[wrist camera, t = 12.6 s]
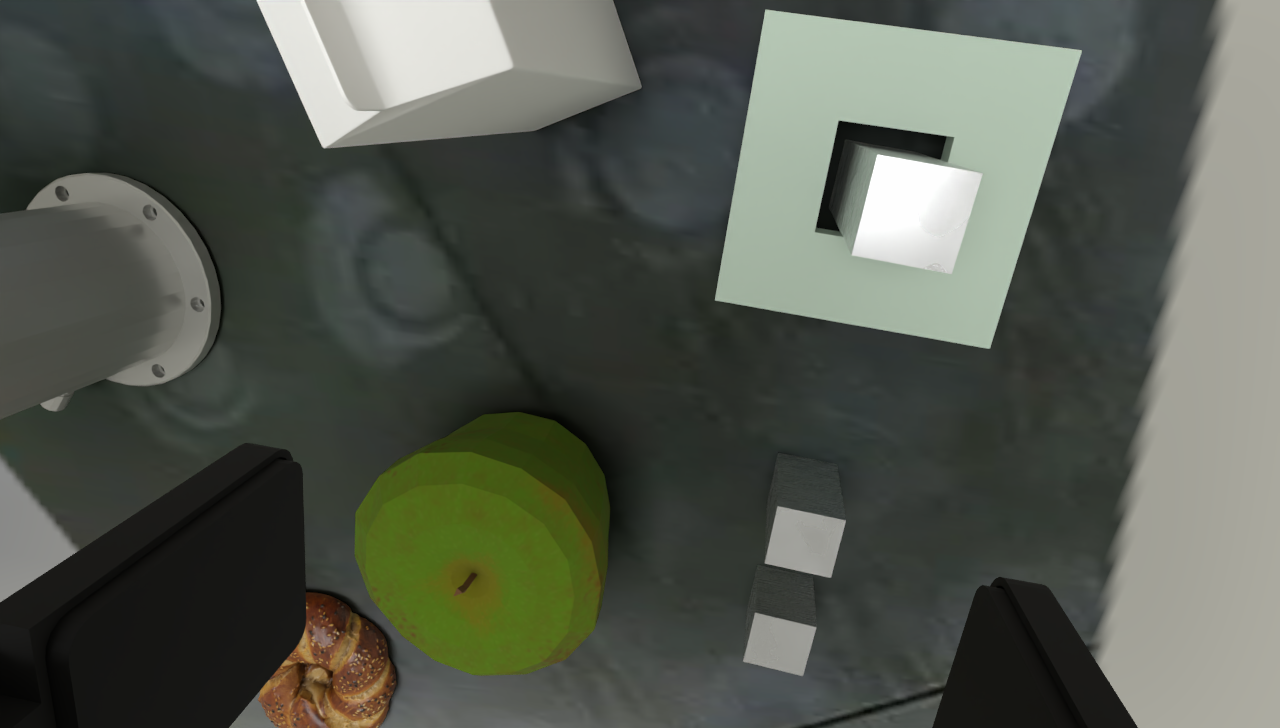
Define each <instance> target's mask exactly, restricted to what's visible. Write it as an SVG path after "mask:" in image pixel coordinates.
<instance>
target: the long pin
mask: <svg viewBox="0 0 1280 728" xmlns="http://www.w3.org/2000/svg"><path fill="white" fill-rule="evenodd" d="M982 175H983V173H981V172H978V171H974V170H971V169H968V168H965V167H962V166H959V165H955V164H952V163H949V162H946V161H943V160H940V159H936V158H933V157H930V156H927V155H924V154H921V153H917V152H914V151H909V150H903V149H897V148H892V147H886V146H880V145H874V144H869V143H863V142H857V141H851V140H846V139H845V142H844V146H843V150H842V154H841V158H840V162H839V166H838V171H837V175H836V179H835V183H834V187H833V191H832V195H831V199H830V203H829V209H830V211H831V213H832V215H833V217H834V220H835V222H836V224H837V226H838V228H839V230H840V232H841V234H842V236H843V238H844V240H845V242H846V245H847V247H848V249H849V251H850V253H851V255H854V256H859V257H864V258H869V259H875V260H880V261H885V262H890V263H895V264H901V265H906V266H911V267H916V268H922V269H927V270H932V271H937V272H943V273H948V274H952V272H953V268H954V265H955V262H956V259H957V255H958V252H959V249H960V246H961V243H962V239H963V236H964V233H965V230H966V226H967V223H968V220H969V217H970V213H971V210H972V207H973V204H974V201H975V197H976V194H977V191H978V188H979V184H980V181H981V178H982Z"/></svg>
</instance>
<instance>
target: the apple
mask: <svg viewBox="0 0 1280 728" xmlns="http://www.w3.org/2000/svg"><path fill="white" fill-rule="evenodd" d="M609 520H610V503H609V498H608V492H607V487H606V481H605V476H604V474H603V472H602V470H601V469H600V467H599V465H598V464H597V462H596V460H595V459H594V457H593V455H592V454H591V452H590V450H589V449H588V447H587V445H586V444H585V443H584V442H582V441H581V440H580V439H579V438H577V437H576V436H575V435H573V434H572V433H571V432H569V431H568V430H567V429H565V428H564V427H563V426H561V425H560V424H559V423H557V422H556V421H554V420H550V419H546V418H542V417H538V416H533V415H529V414H525V413H521V412H511V413H497V414H484V415H482V416H480V417H478V418H477V419H475V420H473V421H471V422H470V423H468V424H466V425H465V426H463V427H461V428H459V429H458V430H456V431H454V432H453V433H451V434H450V435H448V436H446V437H445V438H442V439H439V440H437V441H435V442H433V443H431V444H429V445H427V446H425V447H423V448H421V449H418V450H416V451H414V452H412V453H410V454H408V455H406V456H404V457H402V458H400V459H398V460H397V461H396V462H395V463H394V464H392V465H391V466H390V467H389V468H388V469H387V470H386V471H384V472H383V473H382V474H381V475H380V476H379V477H378V478H377V480H376V482H375V483H374V485H373V486H372V488H371V489H370V491H369V492H368V494H367V496H366V497H365V499H364V500H363V502H362V503H361V505H360V506H359V508H358V510H357V511H356V513H355V558H356V561H357V563H358V566H359V569H360V571H361V574H362V577H363V580H364V582H365V585H366V588H367V590H368V593H369V596H370V598H371V599H372V600H373V601H374V603H375V604H376V605H377V606H378V607H379V609H380V610H381V611H382V612H383V613H384V615H385V616H386V617H387V618H388V619H389V621H390V622H391V623H392V624H393V625H394V627H395V628H396V629H397V630H398V631H399V632H400V634H401V635H402V636H403V637H404V638H406V639H407V640H408V641H410V642H411V643H412V644H414V645H415V646H416V647H418V648H419V649H420V650H422V651H423V652H424V653H425V654H427V655H428V656H429V657H431V658H432V659H433V660H435V661H437V662H440V663H443V664H445V665H448V666H451V667H453V668H456V669H459V670H461V671H464V672H467V673H469V674H472V675H481V676H483V675H518V674H528V673H531V672H533V671H536V670H539V669H541V668H544V667H547V666H549V665H552V664H555V663H557V662H560V661H563V660H565V659H567V657H568V656H569V655H570V654H571V653H572V652H573V651H574V650H575V649H576V648H577V647H578V646H579V645H580V644H581V643H582V642H583V641H584V640H585V639H586V638H587V637H588V636H589V635H590V634H591V633H592V631H593V630H594V629H595V626H596V622H597V619H598V616H599V612H600V609H601V606H602V599H603V593H604V587H605V580H606V574H607V567H608V534H609Z"/></svg>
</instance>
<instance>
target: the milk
mask: <svg viewBox="0 0 1280 728" xmlns="http://www.w3.org/2000/svg"><path fill="white" fill-rule="evenodd" d="M257 2H258V5H259V7H260V9H261V11H262V14H263V16H264V18H265V20H266V23H267V25H268V27H269V29H270V32H271V34H272V36H273V38H274V40H275V43H276V45H277V47H278V49H279V52H280V54H281V56H282V58H283V61H284V63H285V65H286V67H287V70H288V72H289V74H290V76H291V78H292V81H293V83H294V85H295V87H296V90H297V92H298V94H299V96H300V99H301V101H302V103H303V105H304V108H305V110H306V112H307V114H308V116H309V119H310V121H311V123H312V125H313V128H314V130H315V132H316V134H317V137H318V139H319V141H320V143H321V145H322V147H323V148H336V147H348V146H360V145H372V144H384V143H396V142H408V141H420V140H432V139H444V138H456V137H468V136H480V135H492V134H503V133H515V132H527V131H535V130H538V129H540V128H543V127H546V126H548V125H551V124H553V123H556V122H558V121H561V120H563V119H566V118H568V117H571V116H573V115H576V114H578V113H581V112H583V111H586V110H588V109H591V108H593V107H596V106H598V105H601V104H603V103H606V102H608V101H611V100H613V99H616V98H618V97H621V96H623V95H626V94H629V93H631V92H634V91H636V90H639V89H641V88H642V85H641V82H640V79H639V76H638V73H637V70H636V67H635V64H634V61H633V58H632V55H631V52H630V49H629V46H628V43H627V40H626V37H625V35H624V32H623V29H622V26H621V23H620V20H619V17H618V14H617V11H616V8H615V5H614V2H613V0H257Z"/></svg>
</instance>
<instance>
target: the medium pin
mask: <svg viewBox="0 0 1280 728" xmlns="http://www.w3.org/2000/svg"><path fill="white" fill-rule="evenodd" d="M845 523H846V517H845V511H844V504H843V498H842V491H841V485H840V479H839V472H838V466H837V464H833V463H828V462H823V461H818V460H813V459H808V458H803V457H798V456H793V455H788V454H783V453H778V456H777V460H776V465H775V469H774V474H773V478H772V483H771V487H770V492H769V496H768V501H767V513H766V539H765V564H770V565H774V566H779V567H784V568H788V569H793V570H797V571H802V572H806V573H811V574H815V575H820V576H824V577H829V578H831V575H832V572H833V568H834V564H835V560H836V557H837V553H838V549H839V545H840V541H841V538H842V534H843V530H844V526H845Z"/></svg>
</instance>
